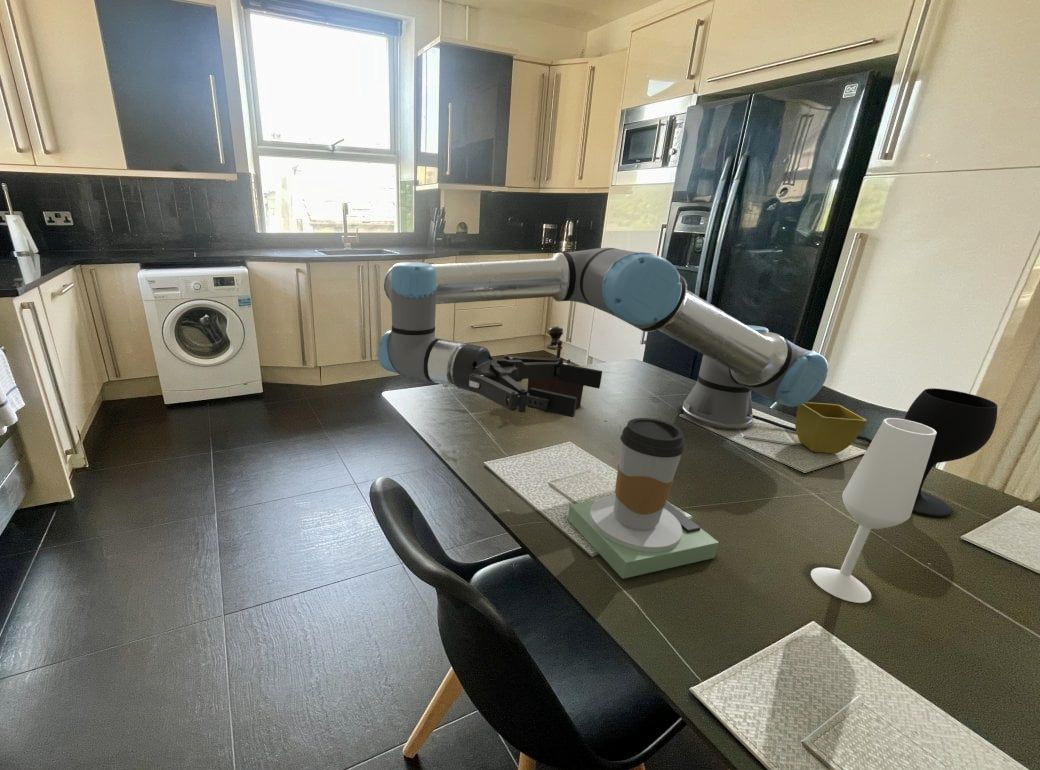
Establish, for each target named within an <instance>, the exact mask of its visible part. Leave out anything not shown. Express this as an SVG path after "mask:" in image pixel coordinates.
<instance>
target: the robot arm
mask: <svg viewBox="0 0 1040 770" xmlns="http://www.w3.org/2000/svg"><path fill="white" fill-rule="evenodd" d="M383 290H384V293H385V296H386V297H387V298H388V300H389V301H390V305H391V330H388V331H386V332H385V333H384V334H383V335H382V336H381V338H380V339H379V346H378V347H377V349H376V350H377V352H376V355H377V360H378V362H379V365H380V366H381V367H382V369H384V370H386V371H388V372H391V373H394V374H398V375H399V376H402V377H409V378H414V379H418V380H423V381H427V382H431V383H436V384H440V385H442V386H443V387H444V388H448V387H453V388H455V387H456V388H457V389H461V390H464V391H468V392H472V393H476V394H479V395H481V396H483V397H485V398H486V399H488V400H490V401H492V402H494V403H495V404H498V405H499V406H501V407H503V408H505V409H507V410H508V411H512V412H513V411H517V412H518V413H521V414H522V413H526V409H527V408H531V409H534V410H540V411H544V412H546V411H547V412H546V413H551V414H556V415H560V416H565V417H568V418H572V419H573V418H574V417H575V415H576V409H575V408H576V402H577V397H573V396H568V395H564V394H559V393H555V392H550V391H545V390H541V389H536V388H532V387H531V388H530V389H529V393H527V392H528V390H527V388H526V387H524V386H523V385H522V384H520V383H519V382H522V381H523V380H526V379H527V380H528V379H533V378H559V381H564V382H569V383H574V384H579V385H583V387H589V388H594V389H600V388H601V382H602V376H603V370H600V369H599V370H598V369H593V368H588V367H584V366H583V367H582V366H578V365H574V366H572V365H573V364H572V365H567V364H563V361H564V358H563V357H561V356H560V357H558V359H556V358H555V357H554V358H553V357H537V356H536V357H534V356H516V355H509V354H504V355H503V358H496V359H493V357H492V355H491V353H490V351H489V349H488V348H487V347H485V346H483V345H482V346H481V345H477V344H476V345H475V344H470V343H467V344H466V343H464V342H460V341H455V340H449V339H444V338H438V337H436V312H437V311H436V309H437V305H445V304H461V303H476V302H477V303H478V302H492V301H509V300H522V299H525V300H526V299H536V298H537V299H539V298H541V299H542V298H552V299H553V300H554V301H555V302H574V303H579V304H584V305H587V306H590V307H592V308H595V309H598V310H600V311H602V312H605V313H608V314H609V315H611V316H613V317H615V318H617V319H619V320H621V321H623V322H625V323H627V324H629V325H631V326H633V327H634V328H637V329H638V330H640V331H642V332H645V333H651V332H656V331H659V332H661V333H663V334H664V335H665V334H666V335H667V336H669V337H671V338H673V339H674V340H676V341H678V342H680V343H682V344H684V345H685V346H687V347H689V348H691V349H693V350H694V351H696V352H698V353H700V354H702V359H701V363H700V367H699V371H698V372H699V373H698V376H697V380H696V383H695V384H694V386H693V388H692V389H691V390H690V392H689V393H688V395H687V396H686V398H685V399H684V400H683V403H682V407H681V413H682V414H683V415H684V416H685V417H687V418H688V419H690V420H691V421H693V422H696V423H698V424H701V425H704V426H708V427H712V428H716V429H723V430H745V429H748V428H750V427H751V425H752V422H753V419H754V420H756V421H757V420H758V421H761V422H764V423H767V424H770V425H773V426H776V427H778V428H780V429H781V428H782V429H785V430H787V431H792V432H795V433H797V432H796V427H792V426H789V425H785V424H782V423H780V422H776V421H774V420H771V419H767V418H765V417H761V416H759V415H755V414H754V413H753V403H752V392H754V393H756V394H759V395H760V396H763V397H765V398H767V399H769V400H771V401H773V402H776V403H777V404H778V405H783V406H786V407H790V408H793V407H798V406H799V405H802V404H803V403H805V402H809V401H811V400H812V399H813V398H814V397H816V395H817V394H818V393H819V391H820V390H822V388H823V386H824V384H825V382H826V380H827V377H828V372H829V363H828V361H827V358H825V356H823V355H822V354H820V353H818V352H816V351H815V350H808V349H805V348H803V347H800V346H799V345H796V344H795V343H793V342H792V341H790V340H788V339H787V338H785V337H783V336H781V335H780V334H778V333H775V332H771V331H770V330H769V329H768V328H767V327H765V326H758V325H752V324H751V325H750V324H745V323H743V322H742V321H740V320H738V319H737V318H735V317H733V316H732V315H730V314H728V313H727V312H725V311H723V310H721V309H720V308H718V307H717V306H715V305H714V304H711V303H710V302H708V301H706V300H705V299H703V298H702V297H700V296H698V295H696V294H695V293H693V292H691V291H690V290H689V289H688V284H687V281H686V279H685V277H684V276H682V275H681V274H680V273H679V271H678V269H677V268H676V266H675V265H673V264H672V262H671V261H669V260H668V259H665V258H664V257H662V256H660V255H658V254H655V253H652V252H644V251H643V252H642V251H641V252H640V251H632V250H626V249H622V248H621V249H620V248H615V247H599V248H591V249H585V250H577V251H576V250H575V251H568V252H567V251H566V252H557V253H554V255H553V256H552V257H551V258H536V259H534V258H533V259H518V260H517V259H515V260H500V261H499V260H498V261H481V262H480V261H479V262H462V263H444V264H443V263H441V264H432V263H426V262H421V261H418V262H417V261H409V262H408V261H406V262H405V261H404V262H397V263H395V264H393V266H391V268H390V269H388V271H387V272H386V274H385V276H384V280H383ZM553 367H554V369H553ZM856 439H857V440H862V441H864V442H867V443H868V444H869V445H870V444H871V442H872V440H873V439H871V438H869V437H866V436H864V435H860V434H859V435H858V436H857V438H856ZM856 439H855V440H856Z"/></svg>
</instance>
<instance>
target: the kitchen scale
mask: <svg viewBox="0 0 1040 770" xmlns="http://www.w3.org/2000/svg"><path fill="white" fill-rule="evenodd" d="M614 502H615V494H612V495H605V496H603V497H600V498H598V499H596V500H595V499H594V500H590V501H584V502H577V503H572V504H569V508H568V513H567V514H568V515H567V520H568V521H569V523H571V525H572V526H573V527H574V528H575V529H576V530H577V531H578V532H579V534H581V535H582V537H583V538H584V540H586V541H587V542H588V543H589V544H590V546H592V548H593V549H595V551H596V552H597V553H598V554H599V555H600V556H601V557H602V558H603V559H604V561H605V562H606V563H607V564H608V565H609V566H610V567H611V568H612V569H613V571H615V573H616V574H617V575H618V576H619V577H620V578H621V579H622V580H623V579H624V580H625V579H628V578H632V577H636V576H637V577H638V576H642V575H645V574H650V573H654V572H655V573H656V572H659V571H664V570H667V569H672V568H676V567H680V566H685V565H690V564H693V563H699V562H702V561H706V560H711V559H715V557H716V554H717V550H718V547H719V544H720V542H719V541H718V540H717V539H716V538H714V537H713V536H711V535H710V534H709V533H708V532H706V530H704V529H702V528H701V526H699V524H697V523H696V522H694V520H692V519H690V518H689V517H688V516H687V515H685V514H684V513H682V512H681V511H680V510H679V509H678V508H676V507H675V506H673V505H672V504H671V503H669V502H668V501H666V504H665V506H664V508H663V511H662V514H661V517H660V520H659V523H658V524H657V525H656V526H655V527H654V528H653V529H651V530H647V531H639V530H634V529H631V528H628V527H626V526H624V525H622V524H621V523H620V522H619V521H618V520H617V519H616V517H615V514H614V511H613V510H614Z"/></svg>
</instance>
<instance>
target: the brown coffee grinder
mask: <svg viewBox="0 0 1040 770" xmlns="http://www.w3.org/2000/svg"><path fill="white" fill-rule="evenodd" d="M563 334H564V329H563V328H562V327H560V326H557V325H556V326H552V327H550V328H549V329H548V335H549V336H550V338H551V339H550V342H549V343H550V344H547V345H546V346H545V347H546V349H548V350H551V351H552V350H553V351H556V359H558V357H560V358H561V352H562V349H563V341H562V340H561V337H562V335H563ZM563 364H567V365H572V366H575V365H574V364H572V363H571V359H570V358H569V359H567V360H566V361H565V360H563ZM553 369H554V367H553ZM531 387H532V388H536V389H541V390H545V391H550V392H555V393H559V394H564V395H568V396H573V397H577V402H576V408H575V410H577V409H580V408H581V407H582V406H581V404H582V399H583V398H582V397H583V392H584V386H583V385H579V384H574V383H569V382H564V381H559V378H533V379H527V388H526V389H527V390H528V392H527V393H529V389H530V388H531ZM545 413H548V412H547V411H545Z"/></svg>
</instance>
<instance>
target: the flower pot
mask: <svg viewBox="0 0 1040 770" xmlns="http://www.w3.org/2000/svg"><path fill="white" fill-rule="evenodd" d="M867 421H868V420H867V418H865V417H862V416H860V415H859V414H857V413H855V412H853V411H851V410H850V409H848V408H846V407H844V406H843V405H841V404H835V403H825V402H809V401H808V402H805V403H803V404H802V405H799V406H797V411H796V416H795V423H794V424H795V428H796V432H795V433H796V436H797V438H798V441H799V443H801V444H802V445H804V446H805V447H806V448H807V449H809V450H810V451H811V452H813V453H814V452H815V453H823V454H824V453H826V454H839V453H841V452H843V451H844V450H846V449H847V448H848V447H850V446H851V445H852V444H853V443H854V442H855V440H856V438H857V436H858V435H859V436H860V433H861V432H862V430H863V428H864V427H865V425H866V423H867Z"/></svg>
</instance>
